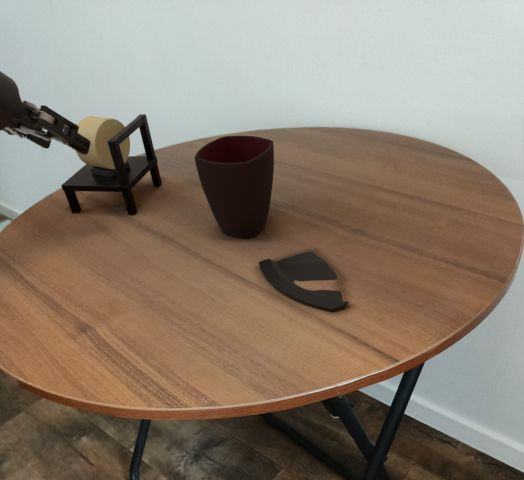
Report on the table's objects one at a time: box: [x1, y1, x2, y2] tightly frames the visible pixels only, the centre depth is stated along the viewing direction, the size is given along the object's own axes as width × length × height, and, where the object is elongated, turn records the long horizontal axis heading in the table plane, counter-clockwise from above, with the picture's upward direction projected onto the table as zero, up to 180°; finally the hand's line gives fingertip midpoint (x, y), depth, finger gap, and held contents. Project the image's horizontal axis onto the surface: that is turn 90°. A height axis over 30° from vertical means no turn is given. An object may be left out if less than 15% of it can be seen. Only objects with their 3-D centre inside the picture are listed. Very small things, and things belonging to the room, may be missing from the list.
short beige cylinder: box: [75, 115, 131, 177], centre depth 85 cm, size 5×8×8 cm, turn 149°
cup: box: [194, 135, 275, 239], centre depth 76 cm, size 10×14×12 cm
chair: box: [60, 113, 163, 216], centre depth 87 cm, size 12×12×12 cm
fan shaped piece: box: [258, 251, 350, 313], centre depth 64 cm, size 8×14×2 cm, turn 21°
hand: (67, 145), depth 79 cm, fingers open, 8 cm apart
